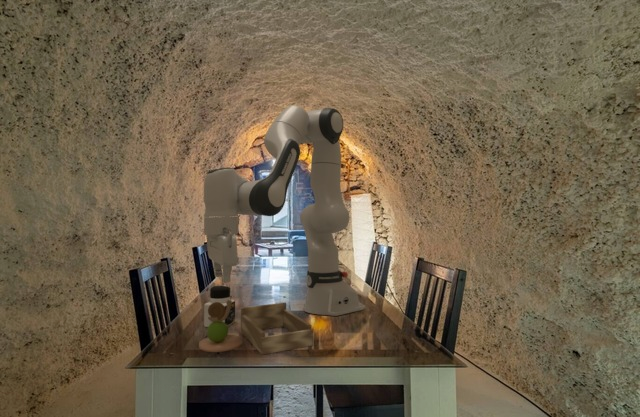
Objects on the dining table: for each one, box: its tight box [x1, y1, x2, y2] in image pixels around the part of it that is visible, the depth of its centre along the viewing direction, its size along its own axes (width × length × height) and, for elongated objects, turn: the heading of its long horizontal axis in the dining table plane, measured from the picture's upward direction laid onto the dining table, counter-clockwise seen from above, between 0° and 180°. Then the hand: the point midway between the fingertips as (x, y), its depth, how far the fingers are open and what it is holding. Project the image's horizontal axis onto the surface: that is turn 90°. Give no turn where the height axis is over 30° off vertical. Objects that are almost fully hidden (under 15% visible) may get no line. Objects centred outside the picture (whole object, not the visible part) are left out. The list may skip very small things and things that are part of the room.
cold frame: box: [240, 302, 314, 356], centre depth 99 cm, size 14×20×7 cm
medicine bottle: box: [203, 284, 236, 328], centre depth 112 cm, size 7×7×12 cm
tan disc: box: [198, 334, 243, 353], centre depth 94 cm, size 11×11×1 cm
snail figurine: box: [206, 295, 233, 342], centre depth 94 cm, size 5×6×12 cm
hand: (222, 279), depth 95 cm, fingers open, 8 cm apart
